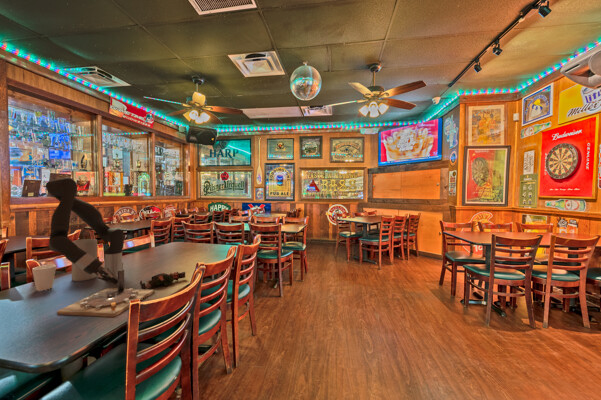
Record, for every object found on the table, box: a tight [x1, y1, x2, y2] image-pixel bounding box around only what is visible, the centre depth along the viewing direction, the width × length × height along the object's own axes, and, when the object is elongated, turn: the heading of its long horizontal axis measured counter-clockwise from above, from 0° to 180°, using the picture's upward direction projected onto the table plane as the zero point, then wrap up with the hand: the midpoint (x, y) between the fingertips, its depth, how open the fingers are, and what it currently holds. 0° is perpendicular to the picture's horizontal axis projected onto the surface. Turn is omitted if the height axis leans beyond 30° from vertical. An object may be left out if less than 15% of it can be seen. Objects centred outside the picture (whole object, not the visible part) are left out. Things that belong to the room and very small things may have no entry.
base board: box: [56, 287, 155, 318], centre depth 126 cm, size 28×28×3 cm
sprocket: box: [80, 269, 138, 310], centre depth 126 cm, size 24×24×12 cm
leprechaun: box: [139, 271, 186, 290], centre depth 152 cm, size 11×10×25 cm
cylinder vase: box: [71, 238, 98, 282], centre depth 160 cm, size 12×12×25 cm
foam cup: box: [31, 264, 57, 292], centre depth 142 cm, size 10×9×13 cm
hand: (117, 282), depth 135 cm, fingers closed
